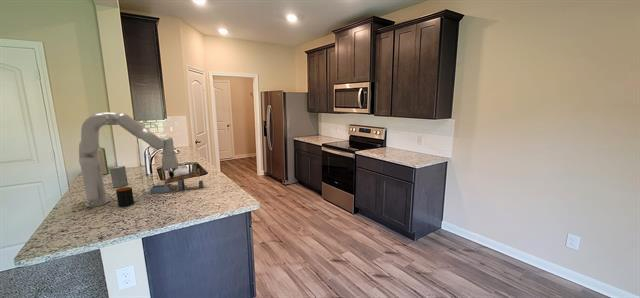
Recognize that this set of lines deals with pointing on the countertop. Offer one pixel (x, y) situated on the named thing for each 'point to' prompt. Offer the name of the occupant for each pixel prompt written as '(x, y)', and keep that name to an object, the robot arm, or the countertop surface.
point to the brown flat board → (182, 177)
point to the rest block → (200, 184)
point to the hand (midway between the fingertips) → (171, 176)
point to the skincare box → (118, 176)
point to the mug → (125, 197)
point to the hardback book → (103, 161)
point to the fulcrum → (181, 186)
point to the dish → (160, 188)
